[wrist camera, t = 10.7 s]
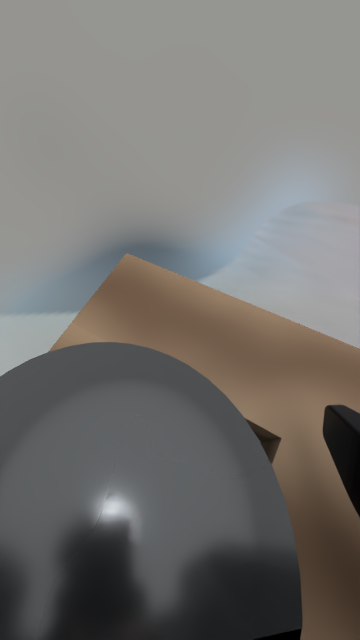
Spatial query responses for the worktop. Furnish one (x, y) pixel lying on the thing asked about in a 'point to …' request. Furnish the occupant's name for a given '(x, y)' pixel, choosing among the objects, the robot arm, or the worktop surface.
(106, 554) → the long pin
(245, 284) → the worktop surface
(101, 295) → the plate
